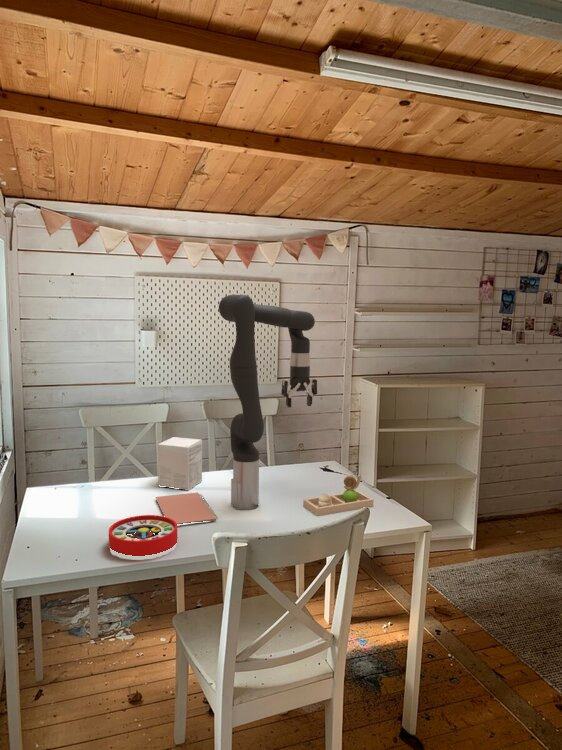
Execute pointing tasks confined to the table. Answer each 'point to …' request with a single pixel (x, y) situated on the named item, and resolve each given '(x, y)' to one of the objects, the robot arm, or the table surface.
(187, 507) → the notebook
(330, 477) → the table surface
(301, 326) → the robot arm
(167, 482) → the supplement box
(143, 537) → the toy clock
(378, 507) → the table surface
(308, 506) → the divided tray
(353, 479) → the snail figurine
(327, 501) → the beige domed knob
